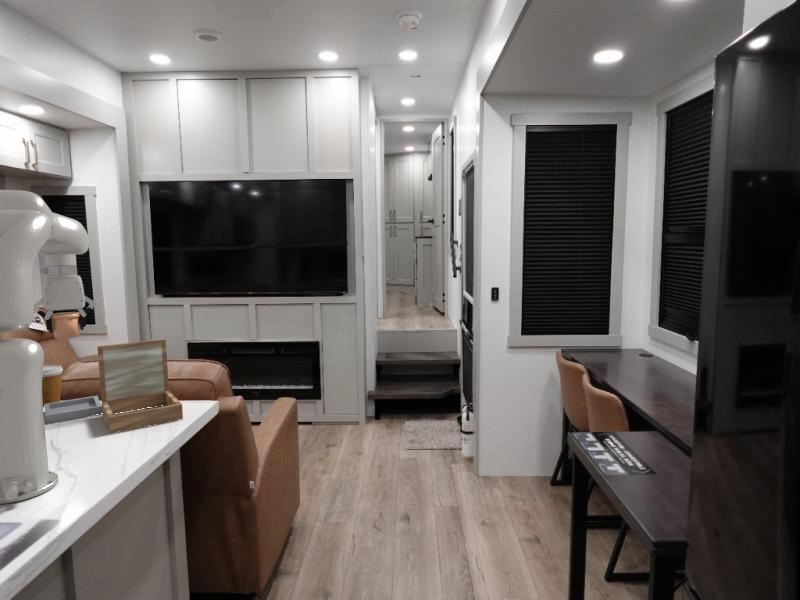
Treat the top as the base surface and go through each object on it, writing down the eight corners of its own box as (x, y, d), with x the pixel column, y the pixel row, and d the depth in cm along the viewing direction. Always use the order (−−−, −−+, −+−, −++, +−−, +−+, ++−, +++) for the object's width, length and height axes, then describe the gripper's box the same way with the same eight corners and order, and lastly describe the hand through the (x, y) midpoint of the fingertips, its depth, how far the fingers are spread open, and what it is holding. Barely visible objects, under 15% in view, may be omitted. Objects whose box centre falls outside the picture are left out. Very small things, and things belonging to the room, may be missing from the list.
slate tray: (102, 414, 151) (102, 406, 150) (46, 424, 142) (45, 415, 142) (97, 403, 162) (97, 395, 162) (45, 411, 154) (44, 403, 153)
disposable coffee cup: (73, 400, 165) (70, 365, 163) (45, 409, 156) (42, 372, 154) (50, 398, 167) (47, 363, 166) (22, 407, 158) (19, 370, 157)
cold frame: (183, 419, 145) (178, 348, 143) (110, 433, 134) (104, 356, 132) (168, 403, 160) (164, 339, 158) (102, 415, 149) (97, 346, 147)
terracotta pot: (82, 336, 149) (80, 313, 148) (53, 339, 145) (51, 315, 144) (80, 333, 155) (78, 311, 154) (52, 336, 150) (50, 313, 150)
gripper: (25, 273, 139) (30, 336, 141) (97, 271, 150) (101, 329, 152) (25, 272, 145) (30, 332, 147) (94, 270, 156) (99, 326, 158)
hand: (66, 330), depth 149 cm, fingers closed on terracotta pot, 7 cm apart
